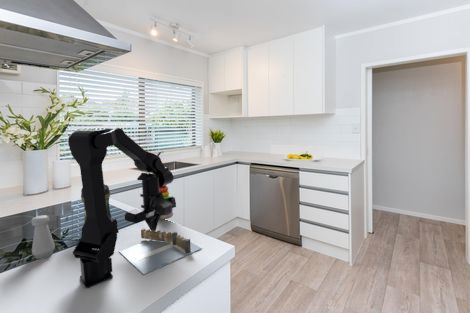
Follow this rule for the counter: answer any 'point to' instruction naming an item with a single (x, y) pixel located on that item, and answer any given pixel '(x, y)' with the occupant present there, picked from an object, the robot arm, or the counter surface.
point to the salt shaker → (42, 238)
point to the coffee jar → (107, 195)
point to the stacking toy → (165, 195)
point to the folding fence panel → (156, 235)
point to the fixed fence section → (181, 242)
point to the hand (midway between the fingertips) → (153, 232)
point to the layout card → (155, 254)
